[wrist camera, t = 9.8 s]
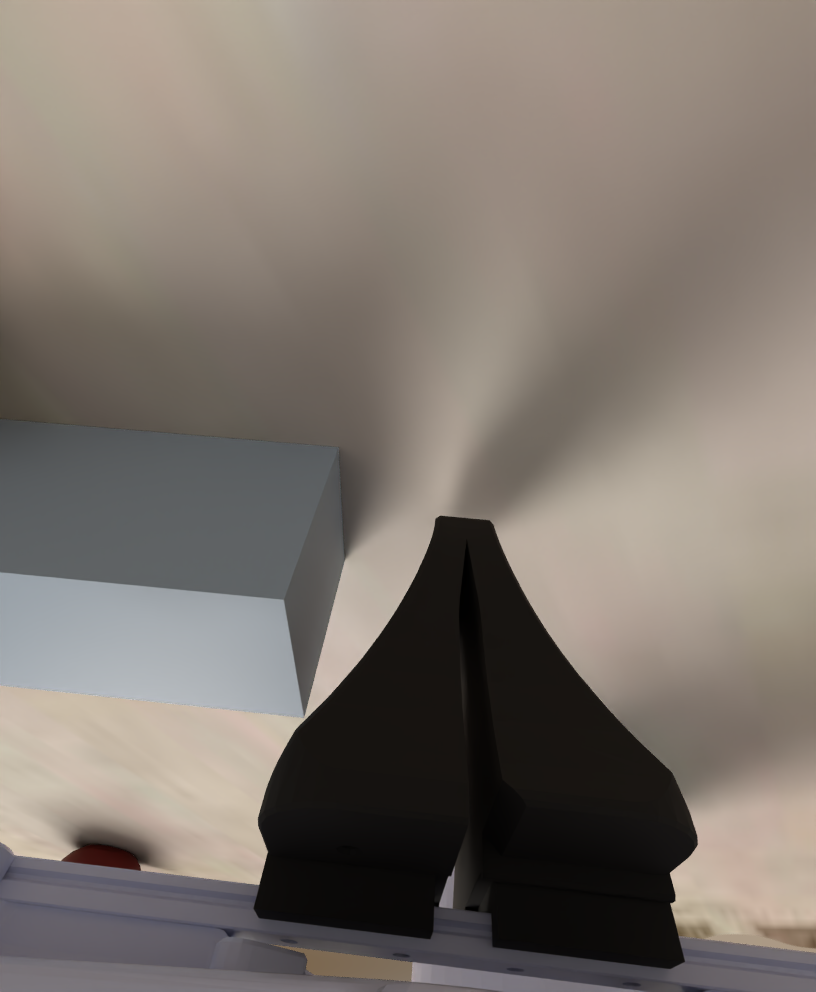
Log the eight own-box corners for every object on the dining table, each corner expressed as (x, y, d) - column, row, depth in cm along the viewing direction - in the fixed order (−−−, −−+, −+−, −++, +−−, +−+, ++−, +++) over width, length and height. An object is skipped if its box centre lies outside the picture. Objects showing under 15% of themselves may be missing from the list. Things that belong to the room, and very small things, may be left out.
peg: (339, 443, 12) (283, 599, 9) (345, 557, 15) (303, 718, 11) (-44, 411, 13) (-265, 546, 9) (24, 527, 15) (-127, 672, 11)
